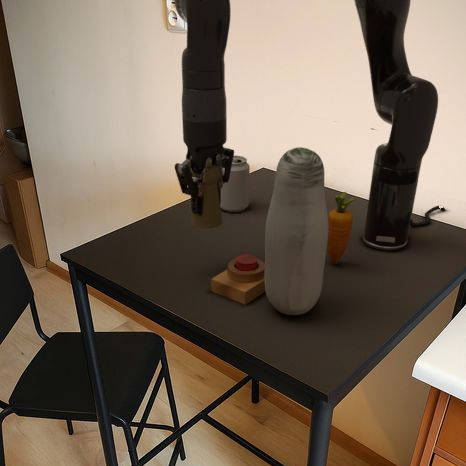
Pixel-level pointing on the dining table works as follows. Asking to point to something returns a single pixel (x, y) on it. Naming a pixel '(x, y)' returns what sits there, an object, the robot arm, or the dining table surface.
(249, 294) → the button box
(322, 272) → the grey tall rounded cylinder
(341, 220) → the carrot
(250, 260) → the red button
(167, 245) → the dining table surface
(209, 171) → the cork
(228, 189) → the can
